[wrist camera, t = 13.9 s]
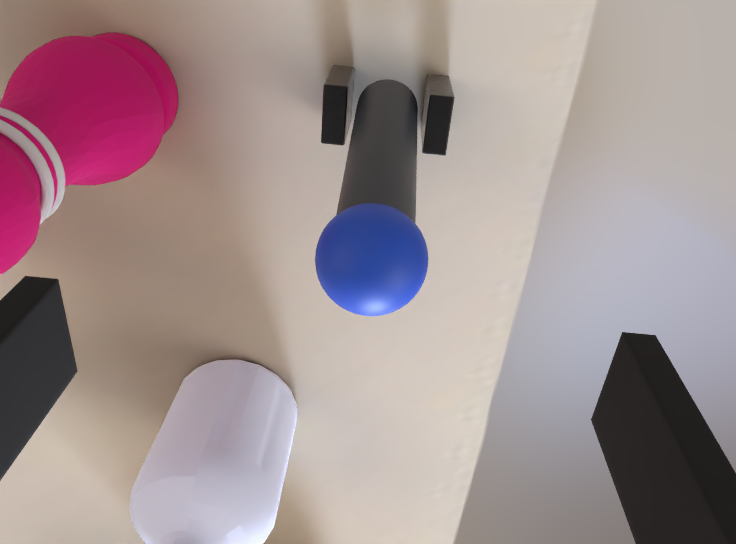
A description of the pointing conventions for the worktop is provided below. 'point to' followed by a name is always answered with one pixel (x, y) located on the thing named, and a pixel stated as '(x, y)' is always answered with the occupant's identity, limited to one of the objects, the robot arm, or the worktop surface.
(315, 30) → the worktop surface
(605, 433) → the robot arm
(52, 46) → the pepper mill
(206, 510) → the soap bottle
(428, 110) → the clip
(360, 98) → the microphone
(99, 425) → the worktop surface
